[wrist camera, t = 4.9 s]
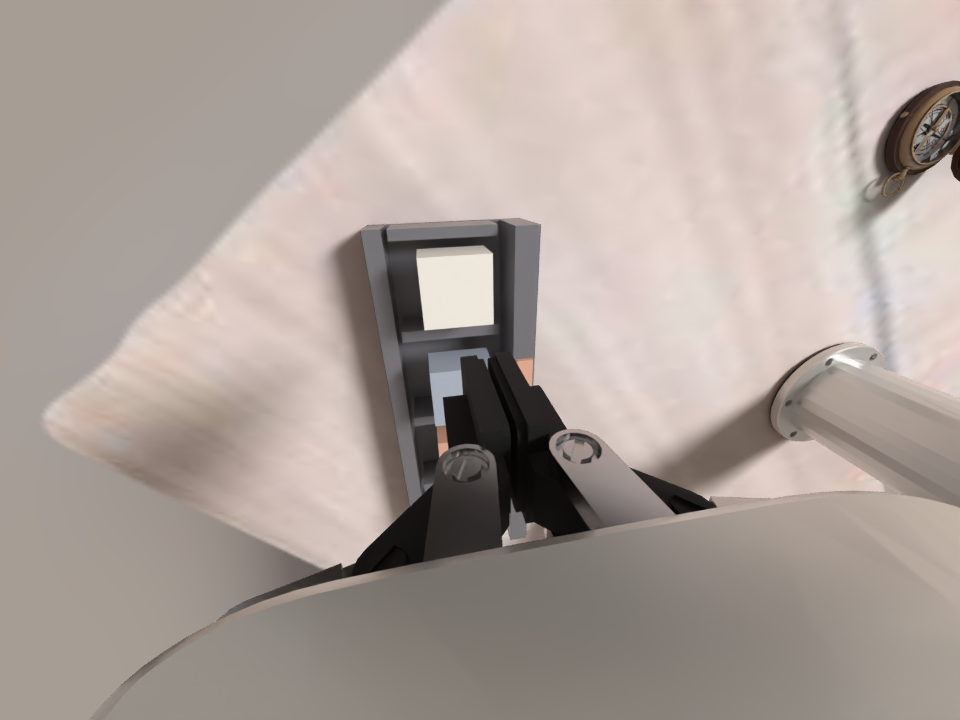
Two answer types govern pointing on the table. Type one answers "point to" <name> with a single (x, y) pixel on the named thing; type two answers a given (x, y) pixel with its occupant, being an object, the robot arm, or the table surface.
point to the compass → (926, 133)
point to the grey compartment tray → (410, 343)
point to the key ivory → (456, 286)
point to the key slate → (448, 376)
